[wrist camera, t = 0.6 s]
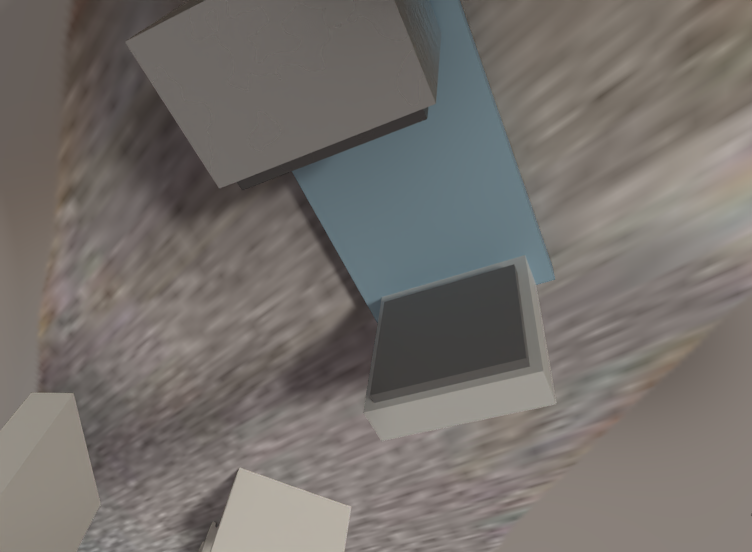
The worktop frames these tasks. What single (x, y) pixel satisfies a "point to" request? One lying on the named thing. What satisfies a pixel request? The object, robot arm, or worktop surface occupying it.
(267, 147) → the block
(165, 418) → the worktop surface
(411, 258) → the base
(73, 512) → the robot arm
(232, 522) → the grey rectangular blocks
